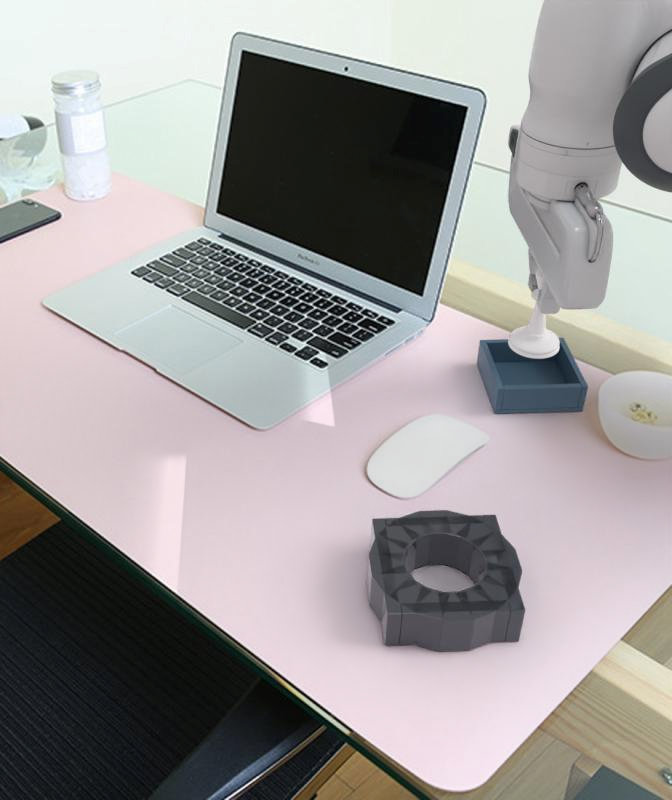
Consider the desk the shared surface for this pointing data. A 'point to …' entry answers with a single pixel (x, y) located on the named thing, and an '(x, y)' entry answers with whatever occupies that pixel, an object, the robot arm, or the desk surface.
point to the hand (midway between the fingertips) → (542, 300)
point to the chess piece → (535, 332)
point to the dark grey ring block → (435, 610)
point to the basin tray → (530, 380)
